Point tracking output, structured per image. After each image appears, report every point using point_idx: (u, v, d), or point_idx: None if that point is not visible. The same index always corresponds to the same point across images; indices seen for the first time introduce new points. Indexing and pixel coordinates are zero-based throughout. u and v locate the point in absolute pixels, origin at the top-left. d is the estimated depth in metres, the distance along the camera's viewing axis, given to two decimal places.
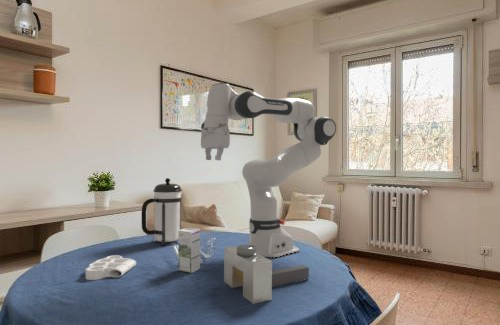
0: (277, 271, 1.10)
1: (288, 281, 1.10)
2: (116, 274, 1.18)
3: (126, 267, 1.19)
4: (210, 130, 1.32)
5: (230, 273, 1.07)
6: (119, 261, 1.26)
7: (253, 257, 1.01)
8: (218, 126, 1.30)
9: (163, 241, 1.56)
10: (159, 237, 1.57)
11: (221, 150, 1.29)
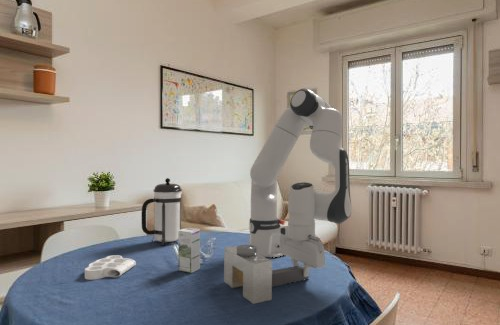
0: (277, 271, 1.10)
1: (288, 281, 1.10)
2: (115, 274, 1.18)
3: (125, 267, 1.19)
4: (297, 242, 1.12)
5: (230, 273, 1.07)
6: (119, 261, 1.26)
7: (253, 257, 1.01)
8: (307, 238, 1.10)
9: (163, 241, 1.56)
10: (159, 237, 1.57)
11: (309, 265, 1.11)
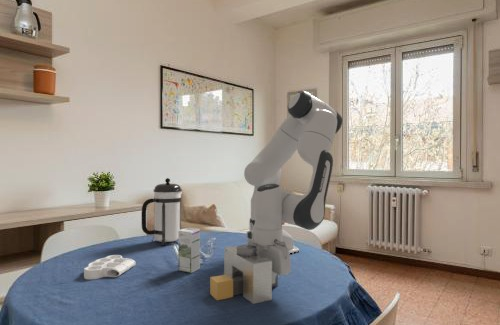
0: None
1: None
2: (114, 274, 1.18)
3: (124, 267, 1.19)
4: (262, 247, 1.06)
5: (230, 273, 1.07)
6: (119, 261, 1.27)
7: (253, 257, 1.01)
8: (273, 243, 1.04)
9: (163, 241, 1.56)
10: (159, 237, 1.57)
11: None
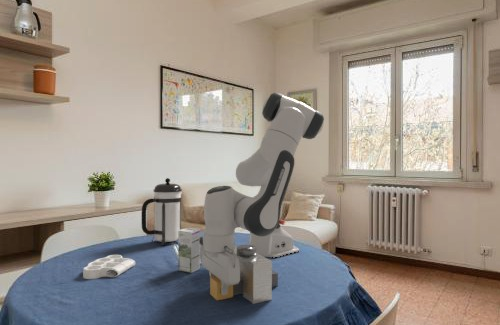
0: None
1: None
2: (113, 274, 1.18)
3: (123, 267, 1.19)
4: (212, 254, 0.98)
5: None
6: (119, 261, 1.27)
7: (253, 257, 1.01)
8: (222, 250, 0.96)
9: (163, 241, 1.56)
10: (159, 237, 1.57)
11: None
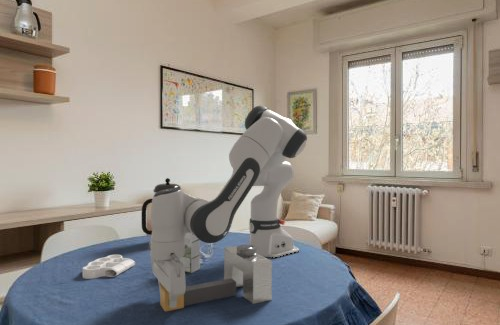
0: (197, 287, 0.97)
1: (210, 298, 0.97)
2: (112, 274, 1.18)
3: (123, 267, 1.20)
4: (158, 262, 0.90)
5: (230, 273, 1.07)
6: (119, 261, 1.27)
7: (253, 257, 1.01)
8: (168, 257, 0.89)
9: None
10: None
11: None
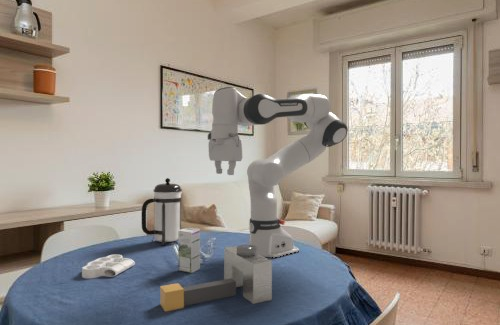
0: (197, 287, 0.97)
1: (210, 298, 0.97)
2: (112, 273, 1.18)
3: (122, 267, 1.20)
4: (219, 141, 1.18)
5: (230, 273, 1.07)
6: (118, 260, 1.27)
7: (253, 257, 1.01)
8: (227, 136, 1.16)
9: (163, 241, 1.56)
10: (159, 237, 1.57)
11: (233, 163, 1.15)
